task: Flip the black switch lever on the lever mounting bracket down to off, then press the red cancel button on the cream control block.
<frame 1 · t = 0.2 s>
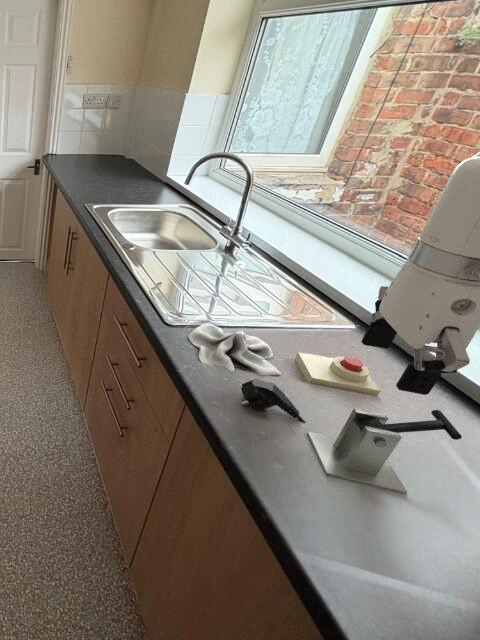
hand: (391, 366, 59), 26 cm above the worktop, tool pointing down, fingers open, 9 cm apart
control block: (333, 377, 93), on the worktop
cancel button: (352, 364, 90), point 4 cm above the worktop, slide at 0.1 cm
power plug: (270, 414, 84), on the worktop
lever mounting bracket: (350, 465, 74), on the worktop
switch lever: (404, 427, 68), point 11 cm above the worktop, hinge at 28.0°
cloth: (231, 355, 100), on the worktop
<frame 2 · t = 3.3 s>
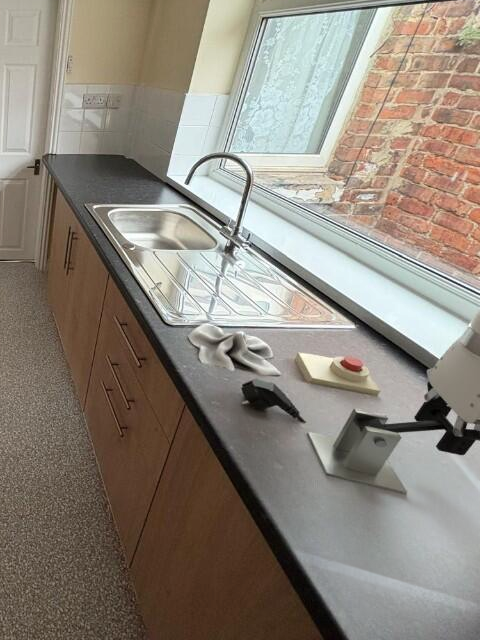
hand: (437, 435, 66), 11 cm above the worktop, tool pointing down, fingers closed on switch lever, 5 cm apart
switch lever: (404, 427, 68), point 11 cm above the worktop, hinge at 28.0°, touching gripper
everything else where it was.
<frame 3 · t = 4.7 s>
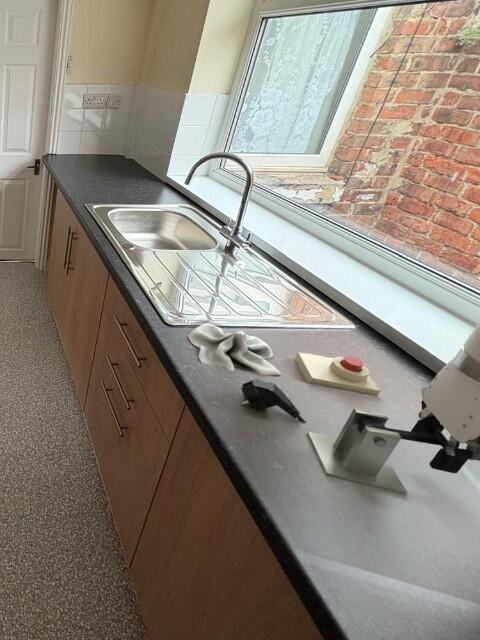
hand: (431, 453, 68), 7 cm above the worktop, tool pointing down, fingers closed on switch lever, 5 cm apart
switch lever: (403, 435, 68), point 9 cm above the worktop, hinge at 4.6°, touching gripper
everything else where it was.
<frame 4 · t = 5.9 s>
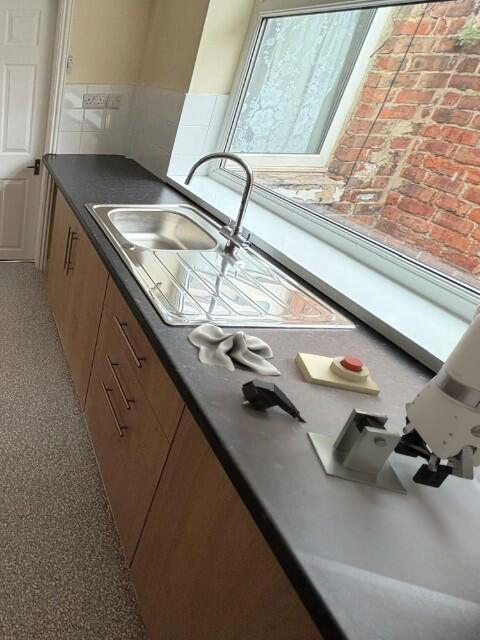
hand: (414, 467, 70), 3 cm above the worktop, tool pointing down, fingers closed on switch lever, 5 cm apart
switch lever: (397, 441, 69), point 8 cm above the worktop, hinge at -19.2°, touching gripper
everything else where it was.
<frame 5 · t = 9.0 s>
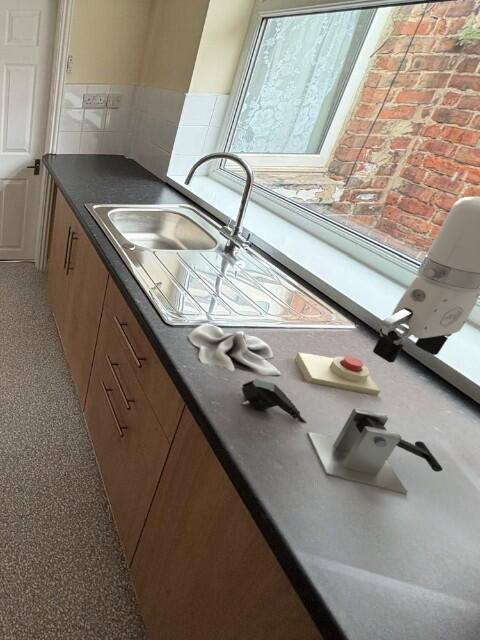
hand: (404, 353, 76), 16 cm above the worktop, tool pointing down, fingers open, 9 cm apart
switch lever: (397, 441, 69), point 8 cm above the worktop, hinge at -19.3°
everything else where it was.
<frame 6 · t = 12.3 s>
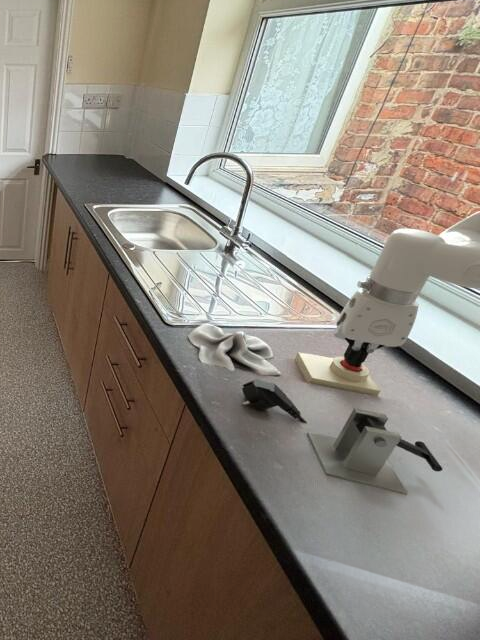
hand: (351, 362, 90), 5 cm above the worktop, tool pointing down, fingers closed
cancel button: (351, 365, 90), point 4 cm above the worktop, slide at -0.3 cm, touching gripper
everything else where it was.
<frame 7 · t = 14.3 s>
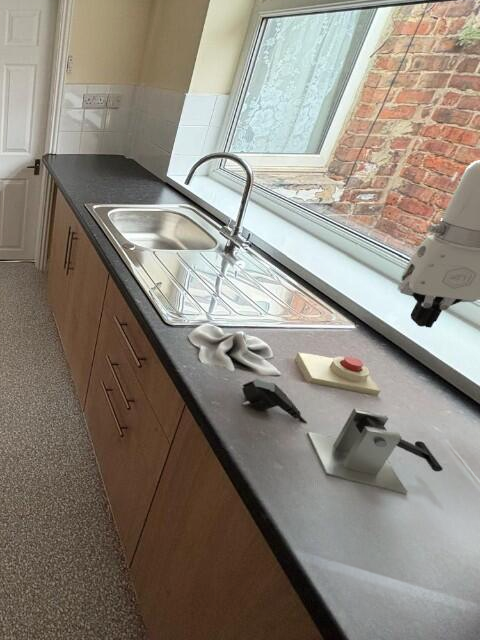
hand: (420, 322, 79), 19 cm above the worktop, tool pointing down, fingers closed
cancel button: (352, 364, 90), point 4 cm above the worktop, slide at 0.1 cm
everything else where it was.
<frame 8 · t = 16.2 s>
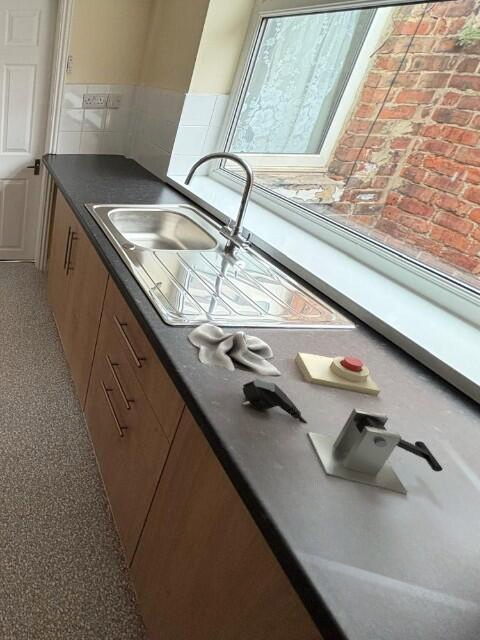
nothing on the worktop moved.
at the end: switch lever at -19° (first picture: +28°); cancel button pushed in 1.1 cm at the most during the clip, back to where it started at the end; cancel button slide at 0.1 cm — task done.
